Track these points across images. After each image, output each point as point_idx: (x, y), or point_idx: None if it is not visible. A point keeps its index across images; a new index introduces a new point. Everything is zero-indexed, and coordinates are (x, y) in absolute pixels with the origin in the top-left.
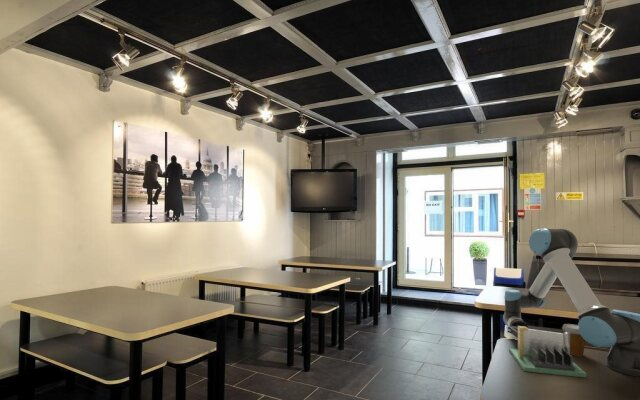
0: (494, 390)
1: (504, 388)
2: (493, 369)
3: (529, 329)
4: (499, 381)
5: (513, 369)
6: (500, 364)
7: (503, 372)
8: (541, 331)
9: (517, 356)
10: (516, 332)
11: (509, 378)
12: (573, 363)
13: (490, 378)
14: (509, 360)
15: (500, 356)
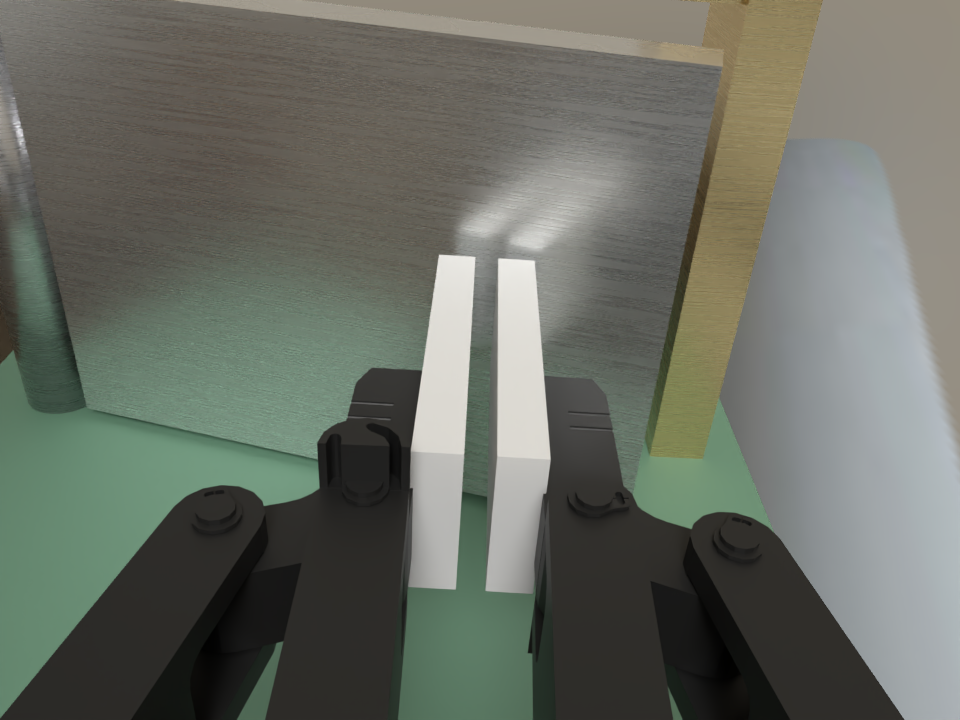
0: (837, 153)
1: (790, 163)
2: (911, 296)
3: (582, 37)
4: (828, 199)
5: (746, 311)
6: (878, 371)
7: (823, 270)
8: (372, 10)
9: (708, 448)
10: (824, 627)
11: (770, 222)
12: (15, 370)
13: (891, 215)
14: (799, 465)
15: (941, 564)
